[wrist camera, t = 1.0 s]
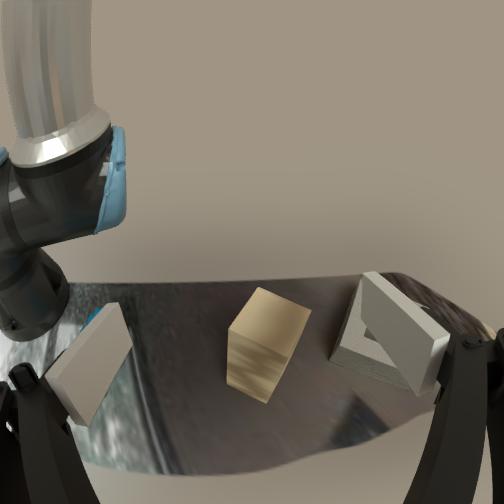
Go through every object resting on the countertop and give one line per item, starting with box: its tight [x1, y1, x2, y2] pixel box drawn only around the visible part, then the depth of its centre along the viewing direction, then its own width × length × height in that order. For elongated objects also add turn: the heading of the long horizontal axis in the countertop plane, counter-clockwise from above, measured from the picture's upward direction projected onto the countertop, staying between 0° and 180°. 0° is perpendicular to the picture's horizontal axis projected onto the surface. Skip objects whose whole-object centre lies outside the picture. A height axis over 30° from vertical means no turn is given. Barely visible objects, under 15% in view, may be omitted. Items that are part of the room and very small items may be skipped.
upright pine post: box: [227, 287, 311, 403], centre depth 25 cm, size 5×5×12 cm
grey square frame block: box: [329, 279, 430, 391], centre depth 32 cm, size 12×12×4 cm
